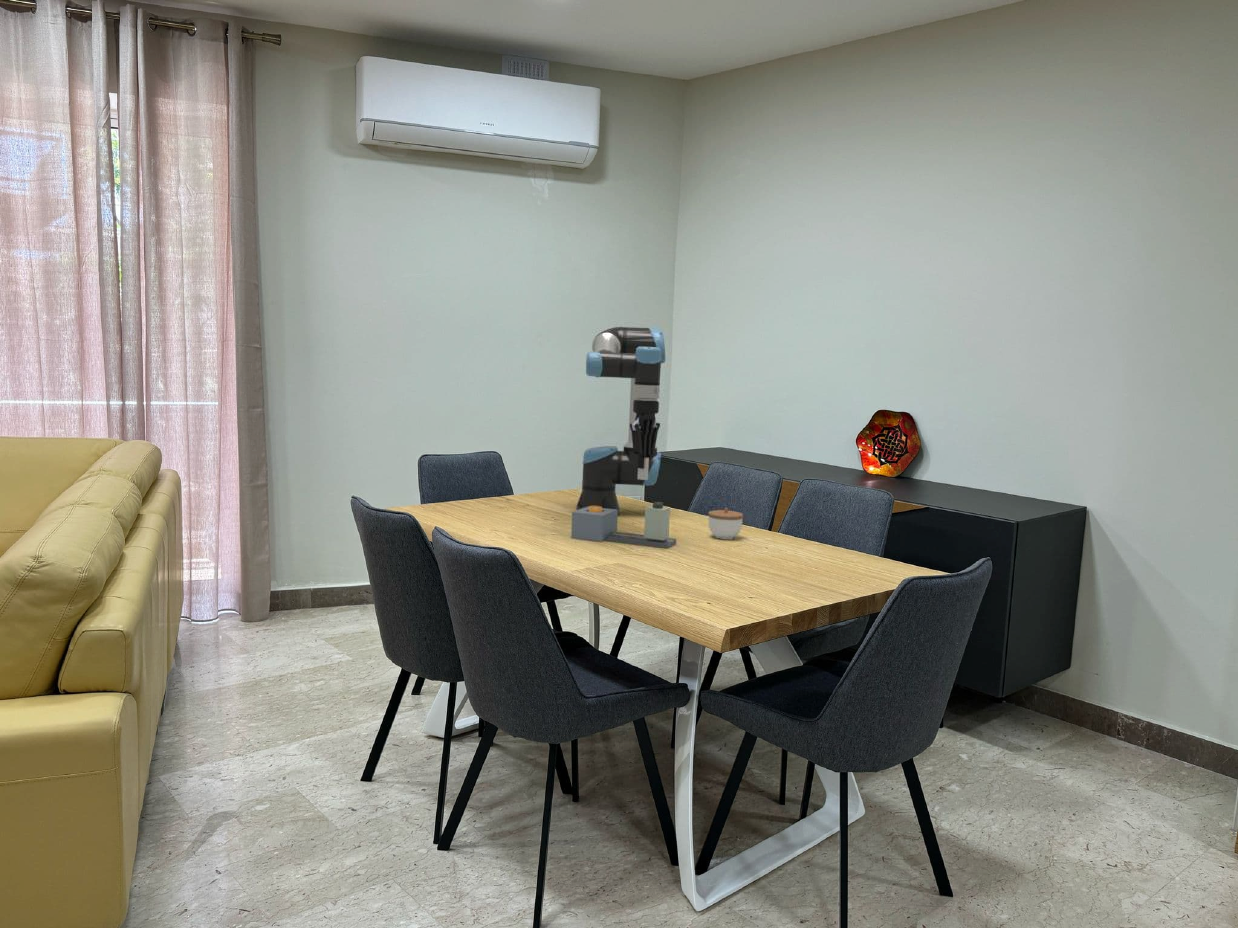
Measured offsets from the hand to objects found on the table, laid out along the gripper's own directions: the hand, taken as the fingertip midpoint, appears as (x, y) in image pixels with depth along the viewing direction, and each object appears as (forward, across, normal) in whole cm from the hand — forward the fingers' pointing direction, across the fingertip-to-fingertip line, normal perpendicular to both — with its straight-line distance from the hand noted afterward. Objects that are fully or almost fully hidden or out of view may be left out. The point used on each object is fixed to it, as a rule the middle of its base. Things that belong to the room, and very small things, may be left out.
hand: (642, 479), depth 278 cm
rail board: (+19, +1, 0) cm, 19 cm away
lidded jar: (+19, +27, -14) cm, 36 cm away
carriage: (+17, +2, -4) cm, 18 cm away
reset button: (+16, -3, +15) cm, 22 cm away
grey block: (+19, -3, +15) cm, 24 cm away
